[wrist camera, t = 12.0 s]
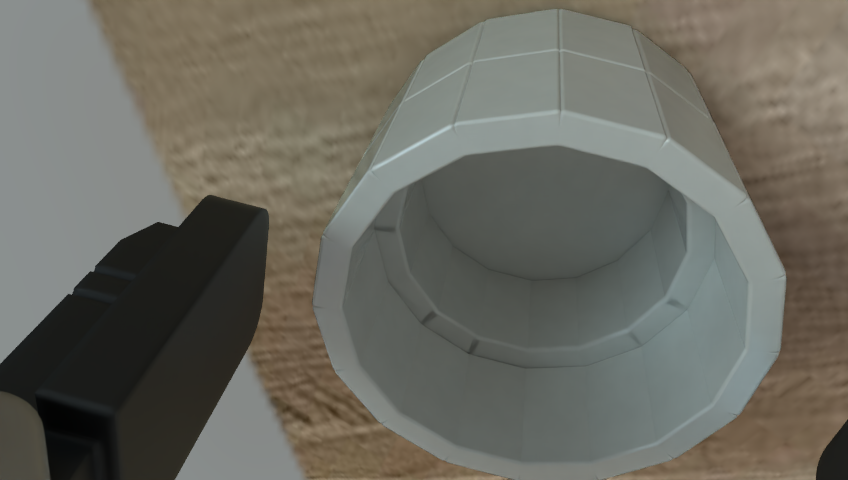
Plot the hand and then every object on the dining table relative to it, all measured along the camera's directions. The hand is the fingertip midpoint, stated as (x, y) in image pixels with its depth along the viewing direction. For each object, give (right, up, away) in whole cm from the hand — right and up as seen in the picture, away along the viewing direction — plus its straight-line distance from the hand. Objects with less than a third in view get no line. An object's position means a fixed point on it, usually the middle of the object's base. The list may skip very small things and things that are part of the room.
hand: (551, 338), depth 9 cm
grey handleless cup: (+1, +3, +5) cm, 5 cm away
